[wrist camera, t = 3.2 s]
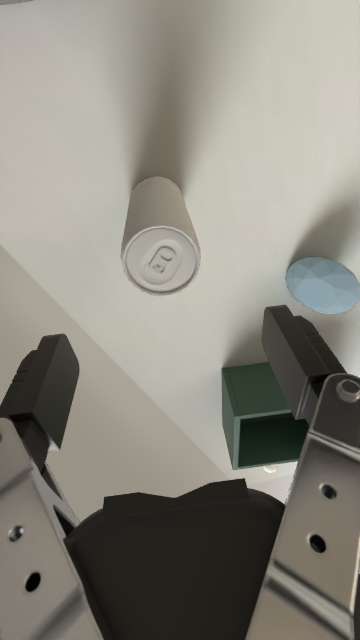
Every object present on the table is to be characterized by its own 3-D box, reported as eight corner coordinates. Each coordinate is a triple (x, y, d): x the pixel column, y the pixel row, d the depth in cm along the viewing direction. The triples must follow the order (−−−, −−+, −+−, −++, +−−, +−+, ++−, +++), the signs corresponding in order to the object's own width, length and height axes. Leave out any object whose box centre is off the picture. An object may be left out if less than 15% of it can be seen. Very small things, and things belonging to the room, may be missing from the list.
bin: (222, 424, 50) (232, 470, 44) (221, 368, 41) (234, 416, 35) (304, 413, 50) (326, 457, 44) (322, 354, 41) (353, 400, 35)
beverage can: (120, 211, 26) (105, 276, 17) (147, 161, 24) (146, 204, 14) (165, 238, 28) (173, 309, 19) (193, 194, 26) (219, 251, 16)
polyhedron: (276, 453, 58) (282, 468, 56) (271, 460, 60) (276, 475, 58) (263, 453, 58) (268, 468, 56) (258, 460, 60) (263, 475, 57)
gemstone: (383, 241, 27) (365, 273, 25) (365, 299, 32) (349, 329, 30) (302, 229, 31) (281, 255, 29) (298, 282, 37) (280, 307, 35)
